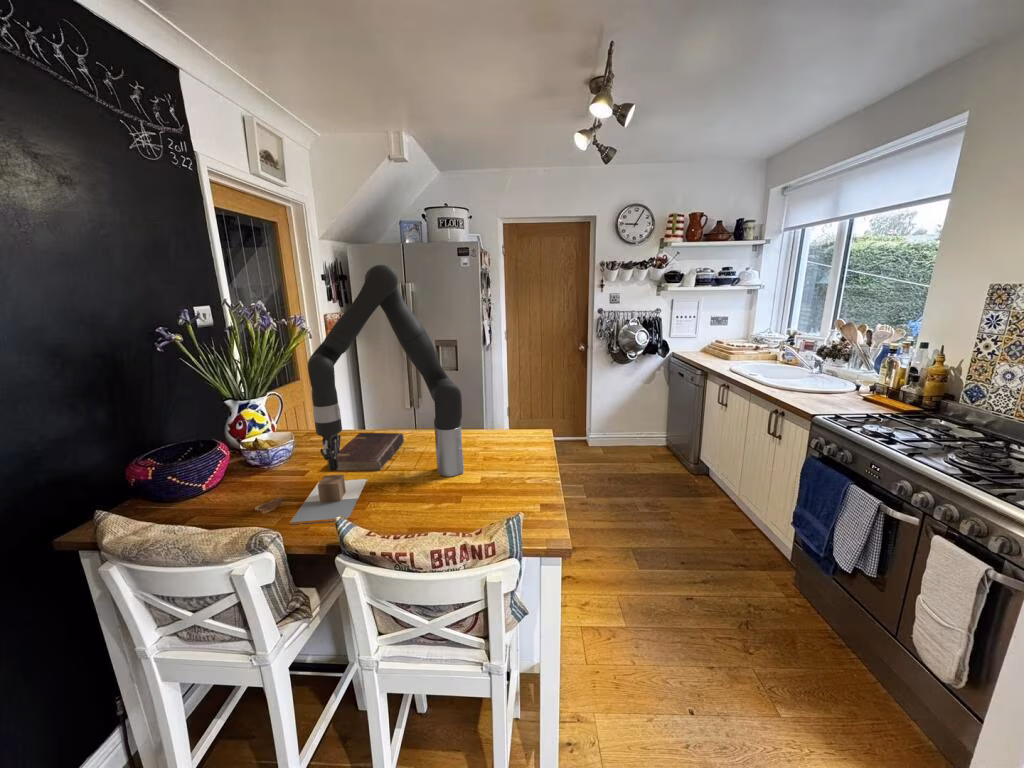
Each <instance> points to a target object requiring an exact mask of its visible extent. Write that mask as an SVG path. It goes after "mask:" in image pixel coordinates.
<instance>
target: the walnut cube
mask: <svg viewBox="0 0 1024 768" xmlns="http://www.w3.org/2000/svg"><path fill="white" fill-rule="evenodd" d="M345 481H346V480H345V475H344V474H334V475H333V474H331V475H323V476H322V477H321V479H320V481H318V482H319V484H318V483H317V484H318V491H319V498H320V503H322V502H336V501H341V499H342V498H343V496H344V494H345V492H346V489H345Z"/></svg>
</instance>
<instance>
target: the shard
mask: <svg viewBox="0 0 1024 768" xmlns="http://www.w3.org/2000/svg"><path fill="white" fill-rule="evenodd" d="M285 501H286V500H285V498H284V497H279V498H274V499H272V500H269V501H267V502H263V503H260V504H258V505H257V506H255V507H254V510H255V511H256V510H257V511H256V512H258V511H260V513H262V514H267V513H268V512H271V511H274V510H275V509H277V507H279V506H280V505H281V504H282V503H284V502H285Z"/></svg>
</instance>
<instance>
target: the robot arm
mask: <svg viewBox="0 0 1024 768" xmlns="http://www.w3.org/2000/svg"><path fill="white" fill-rule="evenodd" d="M398 279H399V278H398V275H397V273H396V272H395V270H394V269H393V268H392V267H390V266H389V265H385V264H377V265H373V266H372V267H370V268H369V269H368V270H367V271H366V273H365V275H364V283H363V285H362V287H361V289H360V291H359V293H358V295H357V296H356V297H355V299H354V300H353V302H352V303H351V304H350V305H349V307H348V308H347V309H346V310H345V311H344V313H342V315H341V316H340V317H339V318H338V320H337V321H335V323H334V325H333V326H332V327H331V329H330V331H328V333H327V335H326V336H325V338H324V340H323V341H322V343H320V344H319V346H318V347H317V348H316V350H315V351H313V353H312V354H311V355H310V357H309V359H308V361H307V373H308V377H309V378H308V379H309V382H310V386H311V400H312V412H313V413H312V414H313V419H314V428H315V434H316V435H317V436H321V437H322V440H321V444H322V447H323V448H321V449H319V452H320V454H321V456H322V458H323V459H324V461H328V460H329V467H330V470H329V471H331V472H333V471H338V470H337V469H338V461H337V457H338V453H339V451H340V450H341V439H342V438H341V436H342V435H340V433H341V432H342V430H343V425H342V418H341V417H342V415H341V409H340V406H339V400H338V399H339V397H338V392H337V388H336V382H335V381H336V379H335V377H336V376H335V375H336V373H335V365H336V363H337V361H338V360H339V359H340V357H341V356H342V355H343V354H344V353H346V352H347V351H348V349H349V348H350V347H351V345H352V344H353V343H354V341H355V340H356V339H357V337H358V336H359V334H360V333H361V331H362V329H363V328H364V326H365V325H366V323H367V322H368V320H369V319H370V317H372V315H373V314H374V312H375V311H376V310H377V309H378V307H380V308H381V309H382V311H383V312H384V314H385V316H386V318H387V320H388V322H389V324H390V327H391V329H392V331H393V333H394V334H395V337H396V338H397V341H398V343H399V344H400V346H401V348H402V349H403V351H404V353H405V354H406V356H407V357H408V359H409V360H410V361H411V363H412V364H413V365H414V367H415V368H416V369H417V370H418V372H419V374H420V375H421V377H422V378H423V381H424V382H425V384H426V386H427V389H428V391H429V393H430V396H431V399H432V401H433V402H434V415H435V417H434V418H433V425H434V428H433V429H434V441H435V454H436V455H435V457H436V471H437V472H438V473H437V474H438V475H439V474H440V475H439V476H441V475H442V476H443V477H454V476H458V475H461V474H462V473H463V474H464V461H463V460H464V457H463V441H462V440H463V439H462V417H463V402H462V401H463V400H462V399H463V398H462V393H461V390H460V388H459V386H457V385H456V384H455V383H454V382H453V381H452V380H451V379H450V377H449V376H448V374H447V373H446V371H445V370H444V368H443V367H442V365H441V363H440V360H439V358H438V355H437V352H436V349H435V347H434V344H433V342H432V340H431V337H430V336H429V334H428V332H427V331H426V329H425V327H424V326H423V324H422V323H421V321H420V320H419V318H418V317H417V316H416V315H415V313H413V311H412V310H411V309H410V307H409V306H408V305H407V304H406V301H405V300H404V298H403V296H402V293H400V292H401V291H400V290H399V287H398V284H399V280H398ZM338 434H339V435H338Z"/></svg>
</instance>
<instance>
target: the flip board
mask: <svg viewBox="0 0 1024 768" xmlns="http://www.w3.org/2000/svg"><path fill="white" fill-rule="evenodd" d="M344 481H345V489H346V492H345V494H344V496H343V498H342V499H341V501H336V502H322V503H320V498H319V491H318V484H319V482H320V481H318V482H317V484H316V485H315V487H314V488H313V490H311V492H310V493H309V495H308V496H307V498H306V499H305V500H304V501H303V503H302V504H301V506H300V507H299V508H298V510H297V511H296V513H294V516H293V517H292V518H291V520H290V521H289V523H290V524H289V526H300V524H303V525H310V524H311V525H312V524H314V523H315V524H326V523H336V522H335V521H336V520H337V519H336V517H339V516H342V517H345V518H344V519H348V518H349V517H350V515H351V514H352V512H353V509H354V508H355V506H356V503H357V502H358V499H359V497H360V495H361V493H362V490H363V489H364V487H365V485H366V483H367V481H368V479H367V478H366V479H365V478H364V479H350V480H344ZM334 519H335V520H334ZM326 520H327V521H326ZM309 521H310V522H309ZM312 521H313V522H312ZM297 522H299V523H297ZM300 522H302V523H300Z"/></svg>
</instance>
